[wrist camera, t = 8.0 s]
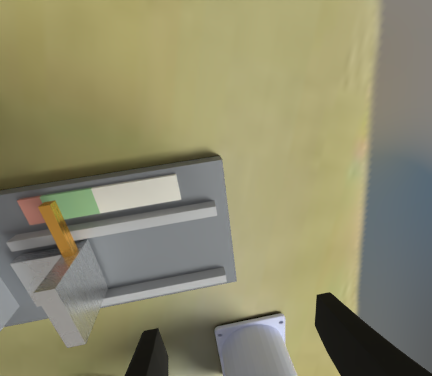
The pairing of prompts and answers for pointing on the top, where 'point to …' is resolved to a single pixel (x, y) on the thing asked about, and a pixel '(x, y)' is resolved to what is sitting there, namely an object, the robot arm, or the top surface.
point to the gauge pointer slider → (64, 280)
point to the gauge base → (125, 232)
